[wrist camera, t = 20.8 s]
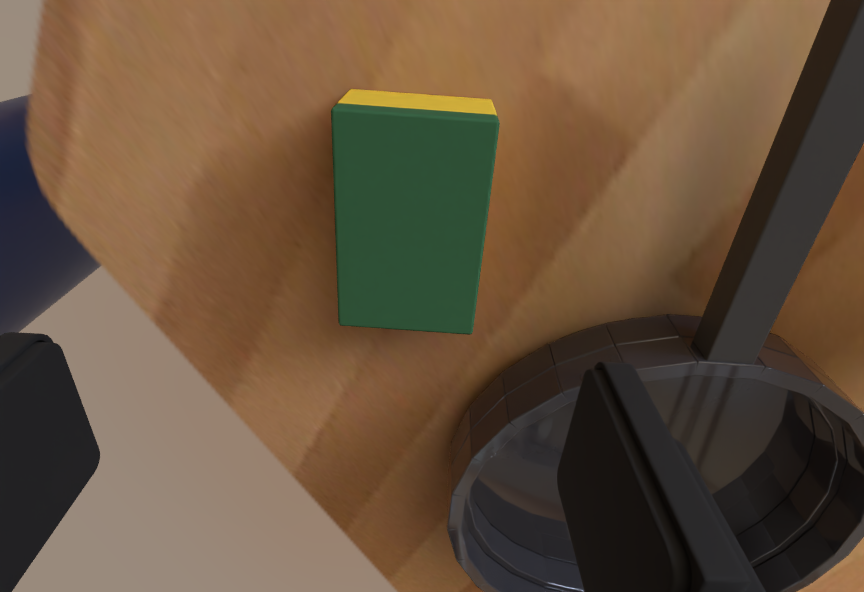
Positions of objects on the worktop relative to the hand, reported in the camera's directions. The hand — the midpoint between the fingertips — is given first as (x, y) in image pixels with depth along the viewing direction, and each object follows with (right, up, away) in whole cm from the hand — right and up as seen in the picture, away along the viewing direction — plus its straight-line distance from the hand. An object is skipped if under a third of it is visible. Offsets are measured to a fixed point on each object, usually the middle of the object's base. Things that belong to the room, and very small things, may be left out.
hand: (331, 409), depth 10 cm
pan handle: (+12, +5, +6) cm, 14 cm away
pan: (+11, -6, +15) cm, 19 cm away
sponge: (+1, +5, +8) cm, 10 cm away
